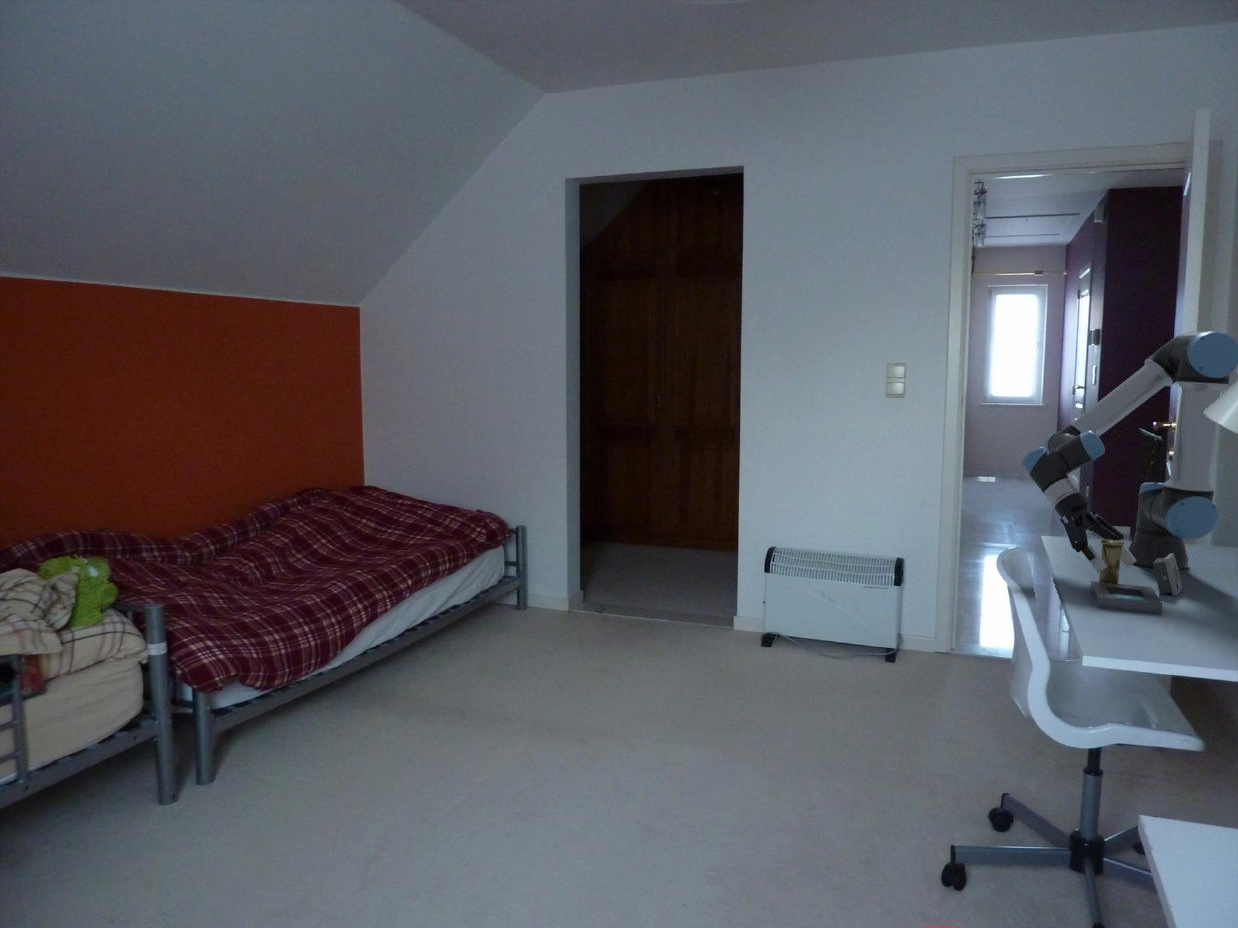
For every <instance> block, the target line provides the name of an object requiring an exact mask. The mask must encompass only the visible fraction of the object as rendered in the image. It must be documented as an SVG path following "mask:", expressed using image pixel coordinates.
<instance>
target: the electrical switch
mask: <svg viewBox="0 0 1238 928" xmlns="http://www.w3.org/2000/svg"><path fill="white" fill-rule="evenodd" d="M1153 567H1154V568H1153ZM1153 567H1152V568H1153V572H1154V577H1155V579H1156V583H1157V584H1156V585H1157V589H1158V593H1159V594H1161V595H1162V594H1172V597H1175V596H1176V597H1177V596H1178V595H1179V594H1180V592H1181V591H1182V590H1183V586H1182V585H1183V584H1182V579H1181V575H1180V572H1179V571H1180V569H1178V567H1177V563H1176V559H1175V555H1174V553H1171V554H1169V555H1168V556H1167V557H1164V558H1157V559H1156V560H1155V561H1154V562H1153Z"/></svg>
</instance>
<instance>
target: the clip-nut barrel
mask: <svg viewBox="0 0 1238 928" xmlns="http://www.w3.org/2000/svg"><path fill="white" fill-rule="evenodd" d="M1100 544H1101V555H1100V557H1101V559H1102V560H1103V561H1104V563H1105V564H1106V565H1107V568H1105V569H1104V570H1102V571H1101V572H1100V573H1099V576H1098V582H1105V583H1115V584H1119V581H1120V580H1119V577H1120V570H1121V569H1120V568H1121V561H1122V560H1121V550H1122V546H1123V545H1125V542H1123V541H1122V540H1121V541H1117V540H1108V539H1104V538H1103V539H1100Z"/></svg>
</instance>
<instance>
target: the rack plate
mask: <svg viewBox="0 0 1238 928" xmlns="http://www.w3.org/2000/svg"><path fill="white" fill-rule="evenodd" d="M1089 590H1090V593H1091V595H1092V597H1093V600H1094V602H1095V605H1096V608H1100V609H1101V608H1102V609H1109V610H1118V611H1127V612H1136V613H1144V614H1152V615H1153V614H1154V615H1161V616H1162V614H1163V605H1164V603H1163V602H1162V601H1161V599H1160V597H1159V596H1158V595H1157V594H1156V592H1155V590H1154V589H1153V588H1152V587H1151V586H1144V585H1143V586H1142V585H1134V584H1133V585H1131V584H1123V583H1118V584H1115V583H1105V582H1099V581H1095V580H1091V581H1090V589H1089Z"/></svg>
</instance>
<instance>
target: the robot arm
mask: <svg viewBox="0 0 1238 928" xmlns="http://www.w3.org/2000/svg"><path fill="white" fill-rule="evenodd" d="M1237 368H1238V342H1237V341H1236V340H1235V339H1234V338H1233V337H1232V336H1231V335H1229V334H1227V333H1225V332H1220V331H1215V330H1214V331H1213V330H1204V331H1188V332H1183V333H1181V334H1179V335H1176V336H1175V337H1173V338H1171V340H1169V341H1168V342H1166V343H1165V344H1164V345H1163V346H1161V347H1160V348H1158V350H1156V351H1155V352H1154V353H1152V354H1151V355H1150V356H1149V357H1147V358H1146V359H1145V360H1144V365H1143V366H1142V367H1141V368H1140V369H1139V370H1137V371H1136V372H1134V373H1133V374H1132V375H1131V376H1130V377H1128V378H1127V379H1126V380H1125V381H1123V382H1121V384H1119V385H1118V386H1117V387H1115V388H1114V389H1113V390H1112V391H1110V392H1109V393H1108V394H1107V395H1106V396H1104V397H1103V398H1102V399H1100V400H1099V401H1098V402H1097V403H1096V404H1094V405H1093V406H1091V407H1090V408H1089V409H1088V410H1086V411H1085V412H1083V414H1081V415H1080V416H1079V417H1077V418H1076V419H1075V420H1074V421H1072V422H1071V423H1070V424H1069V425H1067V426H1066V427H1064V428H1063V429H1062V430H1061V431H1056V432H1053V433H1051V434H1050V435H1049V436H1048V437H1047V438H1046V441H1045V443H1044V444H1045V446H1040V447H1038V448H1034V449H1033V450H1031V451H1029V452H1028V453H1027V454H1026V455H1025V456H1024V457H1023V459H1022V466H1023V468H1024V469H1025V470H1026V471H1027V474H1028V475H1029V477H1030V478H1031V479H1032V481H1033V482H1034V483H1035V484H1036V485H1037V487H1038V488H1039V489H1040V491H1041V493H1043V494H1044V496H1045V497H1046V500H1047V501H1048V502H1049V503H1050V504H1051V505H1052V506H1053V507H1054V510H1055V511H1056V512H1057V514H1058V515H1059V516H1060V518H1059V521H1060V522H1061V523H1062V525H1063V527H1064V529H1065V533H1066V535H1067V538H1068V540H1069V542H1070V543H1069V544H1070V546H1071V548H1072V549H1073V550H1075V552H1076V553H1080V552H1082V554H1083V555H1084V556H1085V558H1086V559H1087V560H1088V561H1089V563H1090V564H1091V566H1092V567H1093V569H1095V571H1096V572H1097V573H1099V574H1100V572H1101V571H1102V570H1104V569H1105V568H1107V565H1106V564H1105V563H1104V561H1103V560H1102V559H1101V555H1099V553H1098V552H1097V551H1096V549H1095V548H1094V546H1092V545H1091V544H1090V545H1089V541H1088V534H1087V531H1089V532H1093V533H1095V534H1096V535H1098V536H1099V537H1101V538H1103V540H1104V539H1108V540H1117V541H1122V540H1123V539H1124V538H1125V537H1124V534H1122V533H1121V531H1119V530H1118V529H1117V528H1115V527H1114V526H1113V525H1112V524H1111V523H1110V522H1108V520H1106V519H1105V518H1104V517H1102V515H1101V514H1100V513H1099V512H1098V511H1097V510H1096V509H1093V510H1092V511H1089V510H1088V509H1087V507H1088V505H1089V502H1088V501H1087V499H1086V498H1085V497H1084V495H1083V494H1082V493H1081V492H1079V488H1078V487H1077V486H1076V485H1075V484H1074V482H1073V481H1072V480H1071V479H1070V477H1069V476H1068V475H1069V474H1071V473H1072V472H1074V471H1076V470H1078V469H1079V468H1081V467H1084V466H1085V465H1087V464H1089V463H1091V462H1093V461H1096V459H1098V458H1099V457H1101V456H1103V455H1104V454H1105V452H1106V448H1105V445H1104V443H1103V441H1102V440H1101V438H1100V436H1101V435H1103V434H1104V433H1106V432H1107V431H1108V430H1110V429H1111V428H1112V427H1113V426H1115V425H1116V424H1118V422H1120V421H1121V420H1122V419H1124V418H1126V416H1128V415H1129V414H1130V413H1132V412H1133V411H1135V409H1137V408H1139V406H1141V405H1142V404H1143V403H1145V402H1146V401H1147V400H1148V399H1150V398H1152V396H1154V395H1155V394H1156V393H1158V392H1159V391H1161V389H1163V388H1164V387H1171V386H1173V385H1175V383H1176V384H1177V385H1179V387H1180V388H1181V394H1180V403H1179V410H1178V419H1177V425H1176V426H1177V427H1176V432H1175V440H1174V441H1175V442H1174V448H1173V455H1172V463H1171V472H1170V478H1169V479H1168V480H1166V481H1165V482H1164V483H1163V482H1144V483H1142V484H1141V485H1140V489H1139V492H1138V501H1137V502H1138V504H1137V512H1136V514H1137V515H1136V528H1135V535H1134V536H1133V539H1132V541H1131V543H1130V545H1129V547H1127V546H1126V545H1125V544H1124V545H1123V546H1122V550H1121V560H1120V561H1122V562H1123V564H1124V565H1125V566H1126V568H1127V567H1130V566H1131V565H1133V564H1134V565H1138V566H1142V567H1148V568H1153V569H1154V567H1153V562H1154V561H1155V560H1156V559H1157V558H1164V557H1167V556H1168V555H1169V554H1171V553H1174V555H1175V559H1176V563H1177V567H1178V569H1179V570H1184V569H1187V568H1188V567H1189V557H1188V552H1187V548H1186V545H1185V540H1196V539H1200V538H1203V537H1205V536H1207V535H1208V534H1210V533H1211V532H1213V531H1214V529H1215V528H1216V526H1217V524H1218V523H1219V522H1218V521H1219V515H1220V514H1219V511H1218V508H1217V507H1216V504H1214V501H1213V500H1214V493H1215V488H1214V487H1213V486H1212V485H1211V484H1210V483H1209V478H1210V470H1211V463H1212V457H1213V450H1214V449H1213V448H1214V443H1215V442H1214V440H1215V436H1216V435H1215V434H1216V426H1217V422H1216V423H1214V422H1213V421H1211V420H1210V419H1208V418H1206V417H1205V415H1204V414H1203V412H1204V410H1205V408H1207V407H1208V406H1210V404H1212V403H1214V401H1216V400H1217V399H1218V398H1219V397H1221V393H1222V391H1223V390H1224V389H1225V388H1226V387H1228V386H1229V384H1230V383H1229V382H1230V378H1231V377H1230V376H1231V374H1232V372H1233V373H1234V371H1235V370H1236V369H1237ZM1184 539H1185V540H1184Z"/></svg>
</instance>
